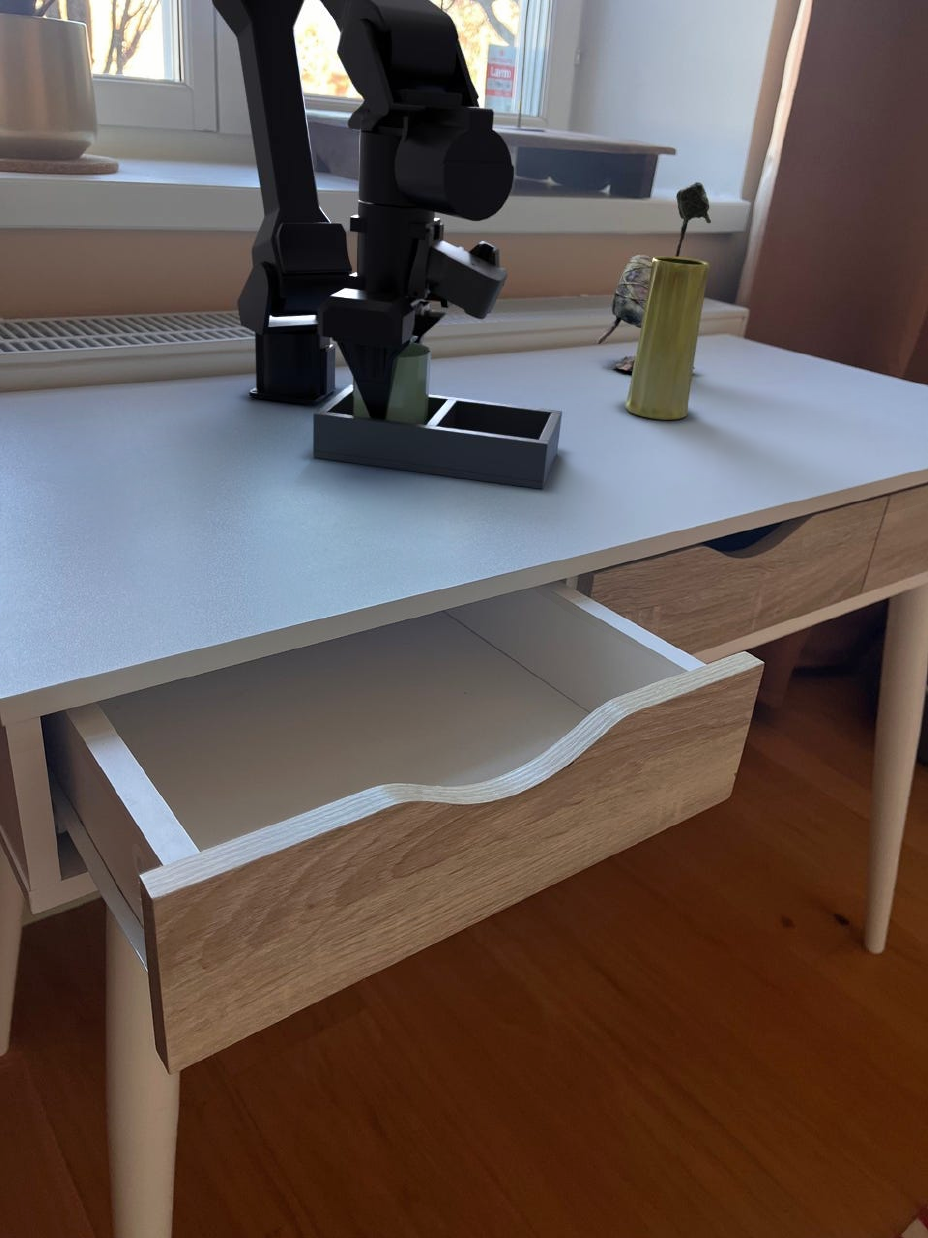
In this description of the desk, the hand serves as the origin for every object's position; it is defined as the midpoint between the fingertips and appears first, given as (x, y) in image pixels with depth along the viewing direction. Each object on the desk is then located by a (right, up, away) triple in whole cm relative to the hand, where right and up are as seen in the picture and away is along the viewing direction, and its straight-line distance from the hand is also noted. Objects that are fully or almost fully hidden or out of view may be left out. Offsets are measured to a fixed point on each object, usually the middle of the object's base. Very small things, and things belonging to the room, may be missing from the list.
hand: (388, 409), depth 81 cm
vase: (+25, +3, +18) cm, 31 cm away
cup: (0, -2, +1) cm, 2 cm away
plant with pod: (+27, +12, +34) cm, 45 cm away
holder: (+4, -4, +1) cm, 5 cm away
